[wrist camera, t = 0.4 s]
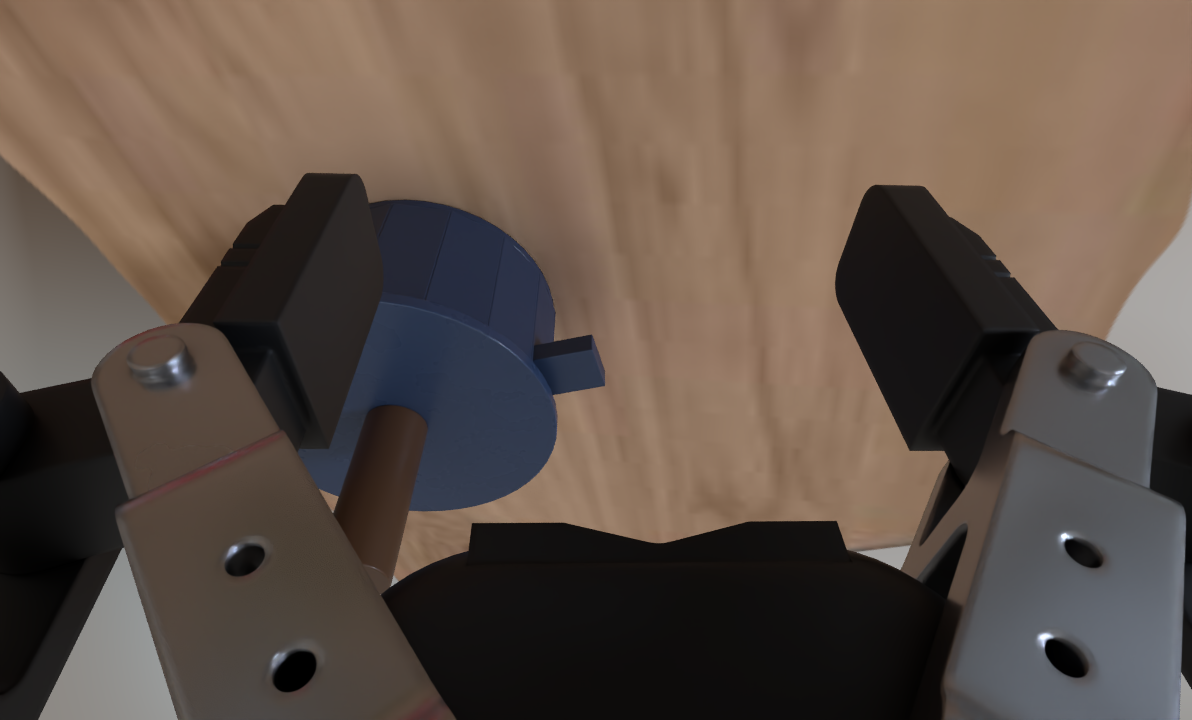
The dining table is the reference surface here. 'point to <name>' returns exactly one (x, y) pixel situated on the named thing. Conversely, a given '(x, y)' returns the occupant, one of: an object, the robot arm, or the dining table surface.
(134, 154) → the dining table surface
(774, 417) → the dining table surface
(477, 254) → the pot
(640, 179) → the dining table surface
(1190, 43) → the dining table surface
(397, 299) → the lid
